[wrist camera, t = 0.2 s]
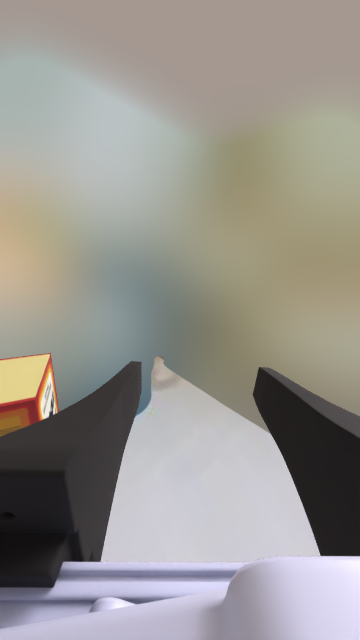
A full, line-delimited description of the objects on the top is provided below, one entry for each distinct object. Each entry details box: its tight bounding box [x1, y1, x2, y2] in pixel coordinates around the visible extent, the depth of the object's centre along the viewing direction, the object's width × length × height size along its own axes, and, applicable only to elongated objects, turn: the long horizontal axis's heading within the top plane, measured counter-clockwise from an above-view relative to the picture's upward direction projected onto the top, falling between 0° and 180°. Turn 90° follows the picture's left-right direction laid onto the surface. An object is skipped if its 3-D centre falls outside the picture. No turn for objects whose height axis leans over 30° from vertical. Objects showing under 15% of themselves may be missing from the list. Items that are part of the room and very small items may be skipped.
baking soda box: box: [0, 353, 59, 436], centre depth 21 cm, size 10×6×16 cm
